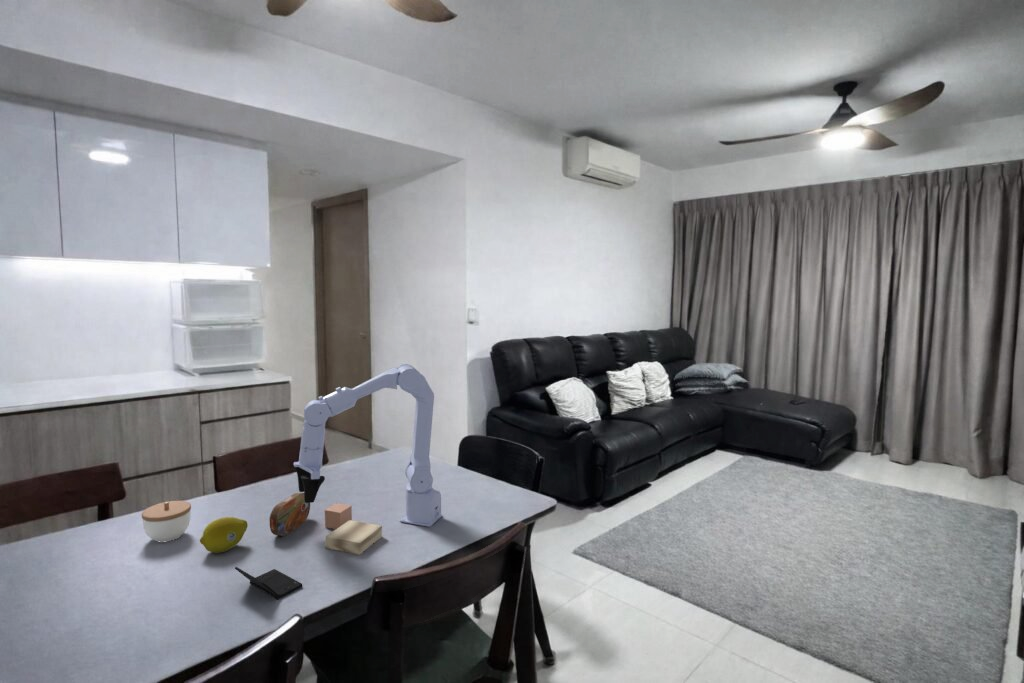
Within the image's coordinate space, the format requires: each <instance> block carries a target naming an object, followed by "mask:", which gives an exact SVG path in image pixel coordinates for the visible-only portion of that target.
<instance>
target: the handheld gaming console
mask: <svg viewBox="0 0 1024 683" xmlns="http://www.w3.org/2000/svg"><path fill="white" fill-rule="evenodd" d="M234 570H236V571H237V572H239V573H240V574H242V576H244V577H245V578H246V579H247V580H249V584H251V585H252V586H254V587H256V588H257V589H259V590H261V591H262V592H264V593H266V594H267V595H270V596H271V597H273V598H274V599H276V600H277V601H279V600H281V599H282V598H285V597H287V596H288V595H290V594H292V593H294V592H296V591H298V590H300V589H302V588H303V583H301V582H300V581H298V580H296V579H294V578H292V577H291V576H288V575H287V574H286V573H284V572H281V571H279V570H277V569H275V568H273V569H271V570H269V571H267V572H264V573H263V574H260V575H258V576H256V577H254V575H251V574H249V573H248V572H246V571H245V570H243V569H240V568H239V567H237V566H235V567H234Z"/></svg>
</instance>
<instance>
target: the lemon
mask: <svg viewBox="0 0 1024 683" xmlns="http://www.w3.org/2000/svg"><path fill="white" fill-rule="evenodd" d="M248 524H249V523H248V522H247V520H245V519H240V518H238V517H234V516H226V517H221V518H217V519H215V520H213V521H211V522H210V523H208V524H207V526H205V528H204V530H203V533H202V536H201V537H200V539H199V543H200V544H201V545H202V546H203V547H204V548H205V550H206V551H208V552H210V553H216V554H217V553H220V554H221V553H224V552H228V551H229V550H231V549H233V548H234V547H235V546H237V545H238V544H239V543H240V541H241V540H242V539H243V537H244V534H245V533H246V531H247V529H248Z"/></svg>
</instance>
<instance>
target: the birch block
mask: <svg viewBox="0 0 1024 683" xmlns="http://www.w3.org/2000/svg"><path fill="white" fill-rule="evenodd" d="M382 537H383V526H382V525H381V524H380V525H379V524H374V523H368V522H361V521H357V520H349V521H347V522H346V523H344V524H343V525H342V526H340V527H339V528H337V529H333V531H331V532H330V533H329V534H327V535H325V549H329V548H331V549H330V550H334V549H335V550H334V551H339V550H340V551H339V552H344V551H345V553H349V552H350V553H349V554H353V555H359V556H360V555H361V554H363V553H364V552H366V550H367V549H369V548H370V547H371V546H373V545H374V544H375V543H376V542H377V541H378V540H380V539H381V538H382ZM373 543H374V544H373ZM363 551H364V552H363Z"/></svg>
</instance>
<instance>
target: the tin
mask: <svg viewBox="0 0 1024 683" xmlns="http://www.w3.org/2000/svg"><path fill="white" fill-rule="evenodd" d="M310 511H311V503H305V499H304V492H296V493H295V492H294V493H292V494H291V495H290V496H287V498H285V499H284V500H282V501H280V502H279V503H278V504H276V505H275V506H274V507H273V508H272V510H271V512H270V515H269V529H270V532H271V533H272V534H273V535H274V536H281V537H286V536H288V535H290V534H291V533H292V532H294V531H295V530H296V529H298V528H299V527H300V526H301V525H302V524H304V523H305V522H306V520H307V519H308V518H309V517H308V516H309V514H310ZM295 528H296V529H295ZM290 532H291V533H290ZM287 534H288V535H287Z"/></svg>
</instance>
